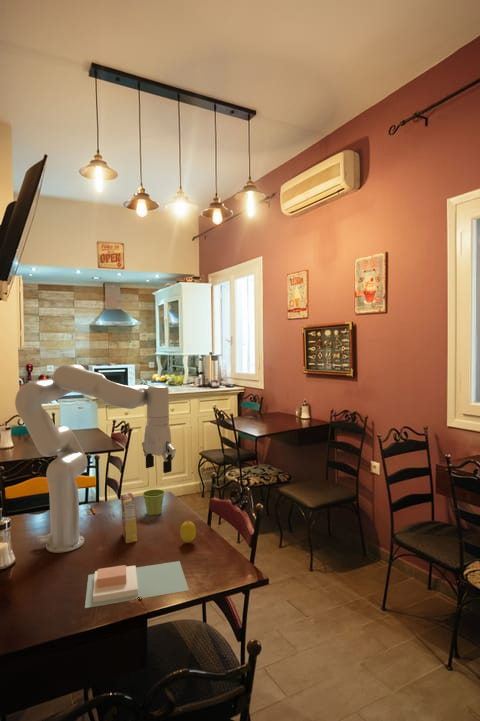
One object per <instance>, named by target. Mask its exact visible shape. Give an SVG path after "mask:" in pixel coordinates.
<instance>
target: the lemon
mask: <svg viewBox="0 0 480 721" xmlns="http://www.w3.org/2000/svg"><path fill="white" fill-rule="evenodd" d="M179 532H180V538H181V540H182V541H184V542H186V543H187V544H189V543H190V542H193V540H194V539H195V538H196V533H197V529H196V526H195V524H194V522H192V521H190V520H186V521H184V522H183V523H181V526H180V530H179Z"/></svg>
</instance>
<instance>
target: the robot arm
mask: <svg viewBox="0 0 480 721" xmlns="http://www.w3.org/2000/svg"><path fill="white" fill-rule="evenodd" d="M71 392H73V393H74V392H75V393H78V394H81V395H85V396H89V397H91V398H94V399H97V400H99V401H101V402H103V403H106V404H107V405H108V404H109V405H111V406H115V407H118V408H123V409H128V410H130V409H136V408H138V407H141V406H146V425H145V427H144V428H145V429H144V435H143V436H144V438H143V441H142V443H141V447H142V451H143V453H144V457H145V469H151V468H154V467H155V456H161V457H162V459H163V462H162V466H163V467H162V468H163V469H162V470H163V473H164V474H167V473H171V472H172V470H173V469H172V468H173V467H172V461H173V459H174V458H175V456H176V455H175V454H176V451H177V449H176V448H175V447H174V446H173V445H172V435H171V426H170V413H169V411H170V410H169V408H170V406H169V405H170V396H169V395H170V393H169V387H168V386H166V385H145V384H135V385H133V384H132V385H130V386H128V385H125V384H121V383H117V382H114V381H111V380H109V379H107V378H106V376H105V374H103V373H100V372H96V371H91V370H88V369H86V368H85V367H84V366H82V365H80V364H74V363H73V364H64V365H60V366H58V367H57V368H56V369H55V370H54V372H53V375H52V376H51V377H49V378H46V379H37V380H32V381H28V382H26V383H24V384H23V385H21V387H20V388H19V389H18V392H17V393H16V394H15V395H16V396H15V398H14V399H15V400H14V405H15V409H16V412H17V414H18V416H19V418H20V419H21V421H22V422H23V424H24V426H25V428H26V430H27V432H28V434H29V437H31V440H32V442H33V444H34V445H35V448H36V450H37V451H38V453H39V454H40V455H41V456H43V457H53V456H55V455H57V458H55V459H54V460H52V461H51V462H50V463H49V464H48V466H47V470H46V472H45V473H46V476H45V477H46V482H47V486H48V492H49V518H50V523H49V524H50V533H47V534H46V535H37V537H36V538H37V539H36V542H39V544H45V548H46V550H47V551H48V552H51V553H67V552H72V551H74V550H77V549H79V548H80V547H81V546H83V545H84V543H85V537H84V536H83V535H80V505H79V503H80V500H79V490H78V489H79V488H78V485H77V481H76V480H77V479H76V478H78V477H80V476H81V475H82V474H83V473H84V472H85V471H86V470H87V467H88V458H87V456H86V453H85V451H84V449H83V447H82V446H81V444H80V442H79V440H78V438H77V436H76V434H75V433H74V432H73V430H72V429H71V428H69V427H68V426H66V425H55V423H54V421H53V420H52V417H51V415H50V413H48V412H47V410H46V409H45V408H44V407H43V404H47V403H50V402H51V403H52V402H53V401H56V400H59V399H60V398H63V397H64V396H66V395H68V394H70V393H71Z"/></svg>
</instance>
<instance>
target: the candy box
mask: <svg viewBox="0 0 480 721" xmlns="http://www.w3.org/2000/svg"><path fill="white" fill-rule="evenodd" d="M120 502H121V504H120V505H121V523H122V524H121V525H122V526H121V528H122V535H123V538H124V540H125V543H126V544H129V543H135V542H137V541H138V536H137V535H138V533H137V531H138V530H137V529H138V528H137V506H136V505H137V504H136V499H135V497H134V496H133V493H132V492H128V493H121V494H120Z"/></svg>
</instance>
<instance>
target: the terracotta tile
mask: <svg viewBox="0 0 480 721" xmlns="http://www.w3.org/2000/svg"><path fill="white" fill-rule="evenodd" d="M126 567H127V565H126V564H124V565H117V566H112V567H111V566H110V567H103V568H97V571H98V573H97V588H101V587H107V586H114V585H120V584H126V583H127V581H126Z"/></svg>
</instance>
